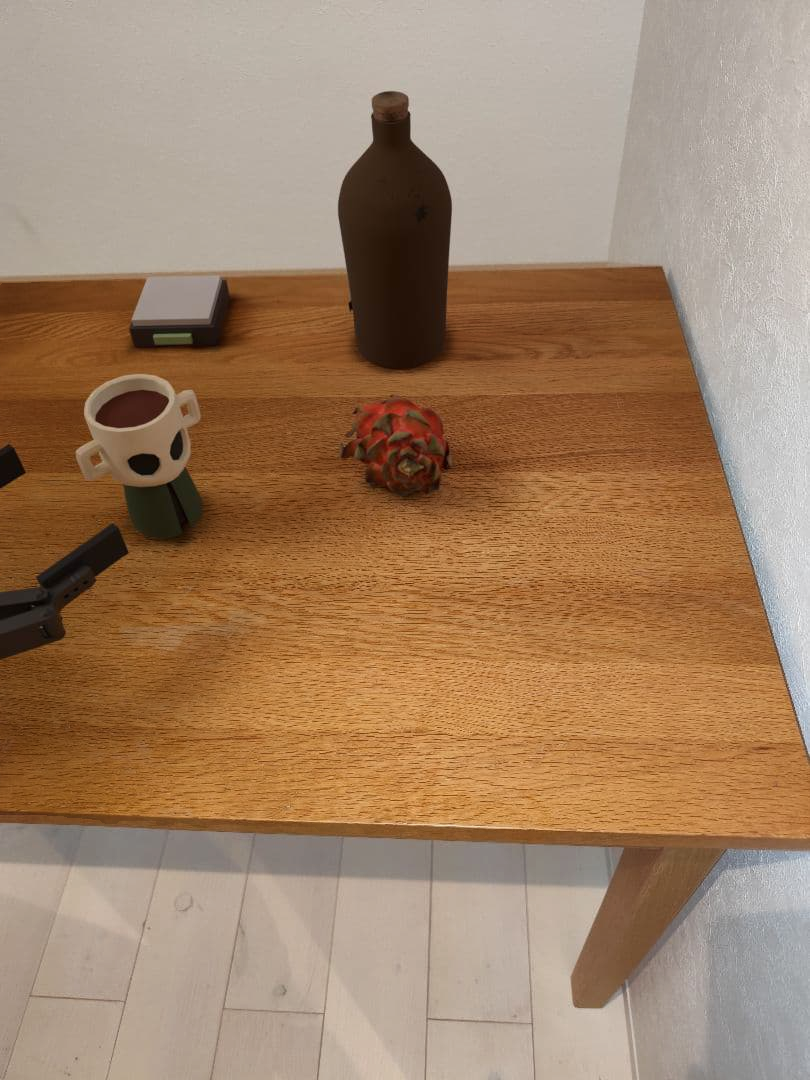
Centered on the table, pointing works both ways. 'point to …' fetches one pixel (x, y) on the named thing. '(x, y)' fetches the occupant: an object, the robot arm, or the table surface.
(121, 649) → the table surface
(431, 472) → the dragon fruit
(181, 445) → the character mug
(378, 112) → the olive oil
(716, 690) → the table surface
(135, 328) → the scale
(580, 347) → the table surface
